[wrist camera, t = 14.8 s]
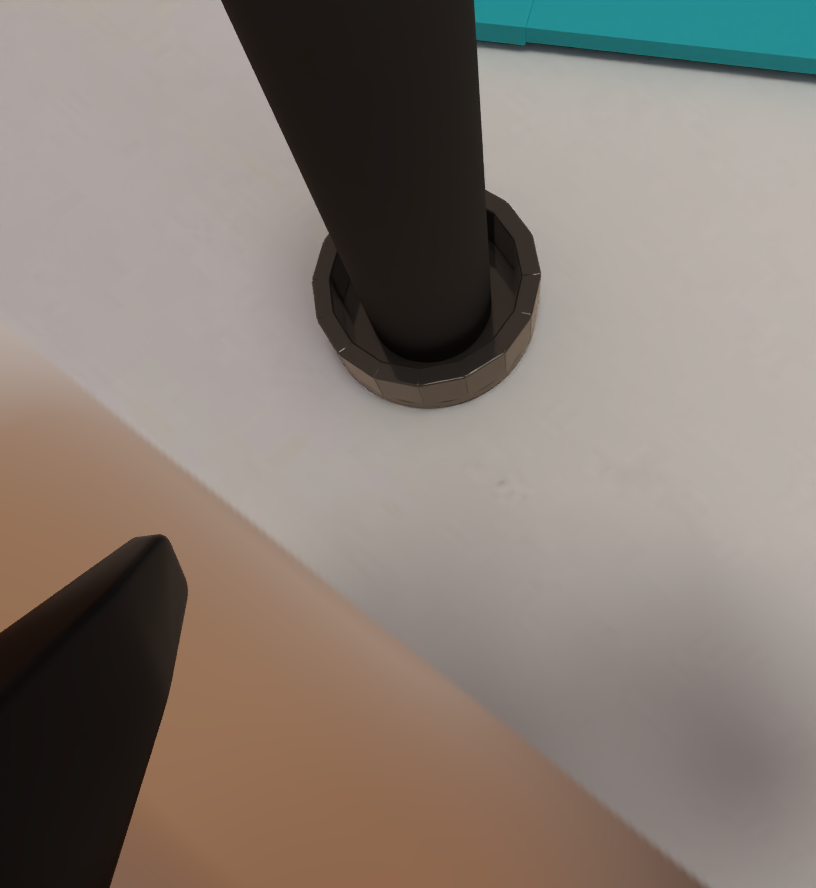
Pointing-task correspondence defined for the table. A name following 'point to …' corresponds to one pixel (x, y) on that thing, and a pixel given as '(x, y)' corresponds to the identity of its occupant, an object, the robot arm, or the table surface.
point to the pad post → (386, 152)
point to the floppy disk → (663, 28)
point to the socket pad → (456, 375)
